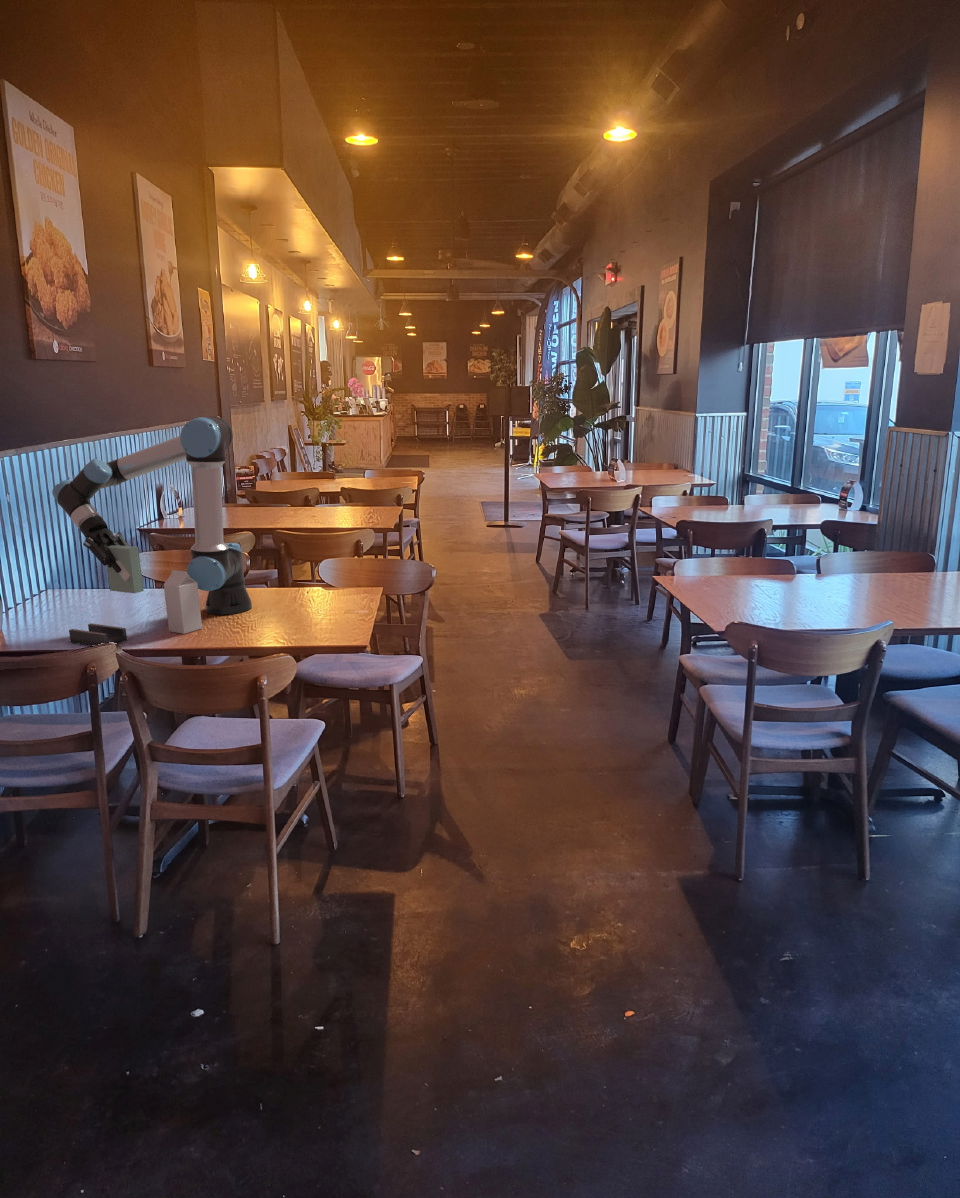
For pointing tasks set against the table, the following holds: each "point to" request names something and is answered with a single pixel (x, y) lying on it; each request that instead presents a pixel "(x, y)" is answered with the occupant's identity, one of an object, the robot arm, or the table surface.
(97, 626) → the bottom track
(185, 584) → the milk carton
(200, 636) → the table surface
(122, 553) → the door panel
